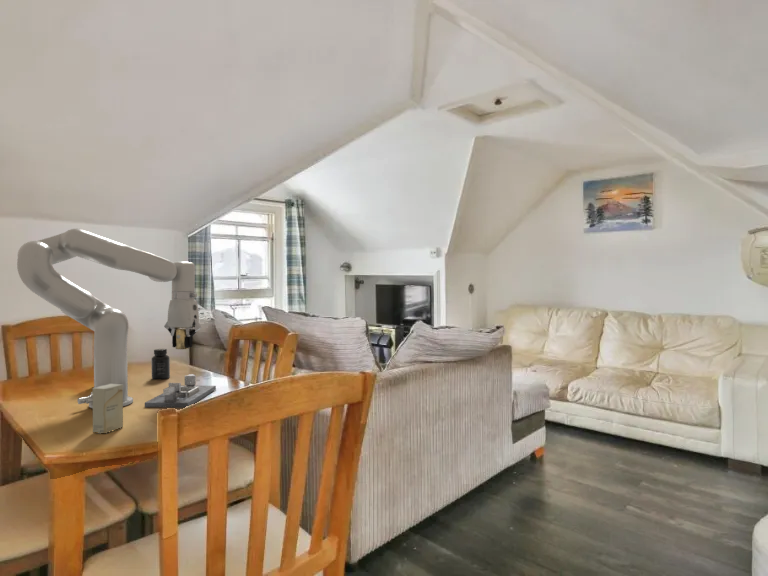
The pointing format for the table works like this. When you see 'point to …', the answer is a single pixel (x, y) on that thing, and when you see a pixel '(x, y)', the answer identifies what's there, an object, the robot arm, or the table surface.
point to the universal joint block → (180, 338)
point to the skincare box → (107, 408)
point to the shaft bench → (181, 394)
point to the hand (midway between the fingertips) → (182, 346)
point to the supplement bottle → (160, 364)
